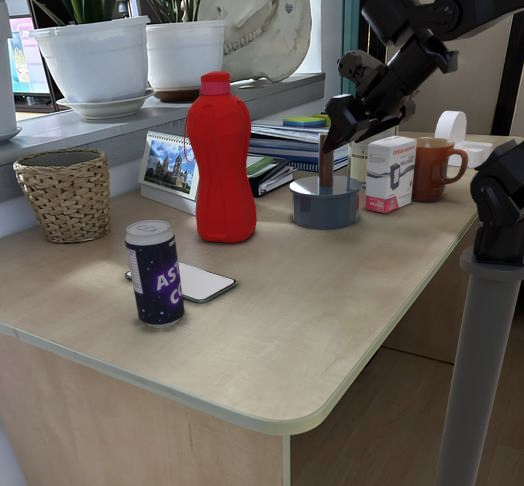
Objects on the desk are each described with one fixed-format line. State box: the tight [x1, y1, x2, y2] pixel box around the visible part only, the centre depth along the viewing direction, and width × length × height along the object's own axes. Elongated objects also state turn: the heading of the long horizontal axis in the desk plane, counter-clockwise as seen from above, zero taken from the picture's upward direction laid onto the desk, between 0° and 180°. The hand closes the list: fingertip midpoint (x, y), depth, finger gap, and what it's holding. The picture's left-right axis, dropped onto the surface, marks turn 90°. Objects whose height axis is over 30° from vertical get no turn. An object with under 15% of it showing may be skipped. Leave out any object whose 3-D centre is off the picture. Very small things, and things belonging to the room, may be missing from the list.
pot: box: [291, 192, 360, 230], centre depth 97 cm, size 12×12×5 cm
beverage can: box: [124, 219, 186, 329], centre depth 65 cm, size 6×6×12 cm
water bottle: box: [183, 70, 258, 244], centre depth 86 cm, size 9×11×25 cm
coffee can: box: [346, 113, 401, 188], centre depth 114 cm, size 10×10×14 cm
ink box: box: [364, 135, 417, 214], centre depth 99 cm, size 8×5×12 cm, turn 134°
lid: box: [289, 131, 363, 199], centre depth 93 cm, size 13×13×10 cm
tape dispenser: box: [421, 110, 494, 169], centre depth 128 cm, size 10×18×11 cm, turn 51°
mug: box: [411, 137, 468, 203], centre depth 102 cm, size 12×9×10 cm
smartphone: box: [124, 261, 238, 304], centre depth 77 cm, size 8×1×16 cm
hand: (339, 146), depth 90 cm, fingers open, 9 cm apart
